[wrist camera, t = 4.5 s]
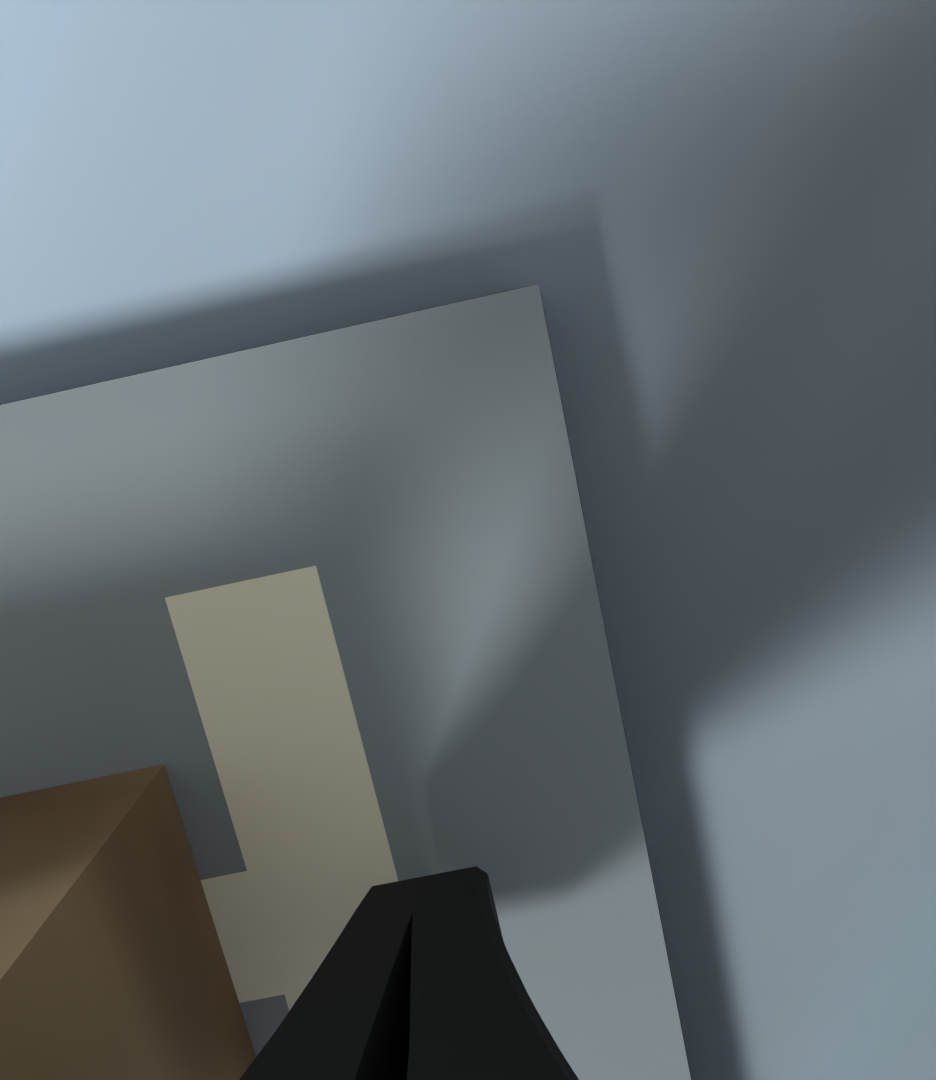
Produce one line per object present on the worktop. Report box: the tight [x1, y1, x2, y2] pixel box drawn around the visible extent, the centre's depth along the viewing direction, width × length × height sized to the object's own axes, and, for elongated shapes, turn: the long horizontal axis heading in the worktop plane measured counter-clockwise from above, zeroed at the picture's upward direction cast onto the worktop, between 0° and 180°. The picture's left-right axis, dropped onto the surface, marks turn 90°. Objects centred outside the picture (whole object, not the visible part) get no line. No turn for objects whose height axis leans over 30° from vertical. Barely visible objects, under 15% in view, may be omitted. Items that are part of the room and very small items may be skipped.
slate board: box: [0, 284, 691, 1080], centre depth 11 cm, size 16×14×1 cm
